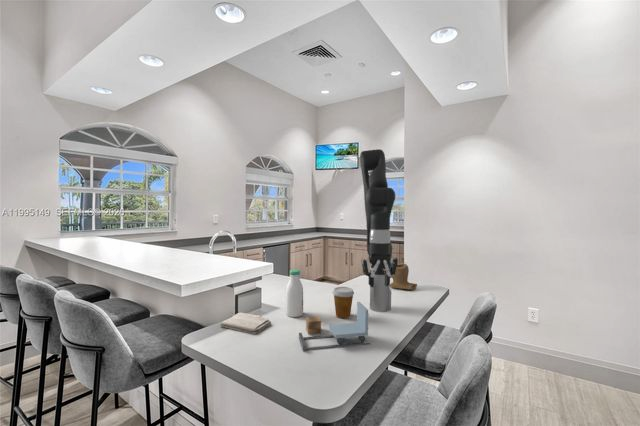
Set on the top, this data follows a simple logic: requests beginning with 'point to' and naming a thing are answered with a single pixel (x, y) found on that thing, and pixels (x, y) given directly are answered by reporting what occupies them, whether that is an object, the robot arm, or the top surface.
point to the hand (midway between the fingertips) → (379, 286)
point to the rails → (324, 346)
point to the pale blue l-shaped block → (352, 326)
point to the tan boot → (402, 278)
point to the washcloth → (246, 323)
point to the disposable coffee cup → (343, 301)
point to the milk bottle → (294, 295)
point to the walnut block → (313, 325)
